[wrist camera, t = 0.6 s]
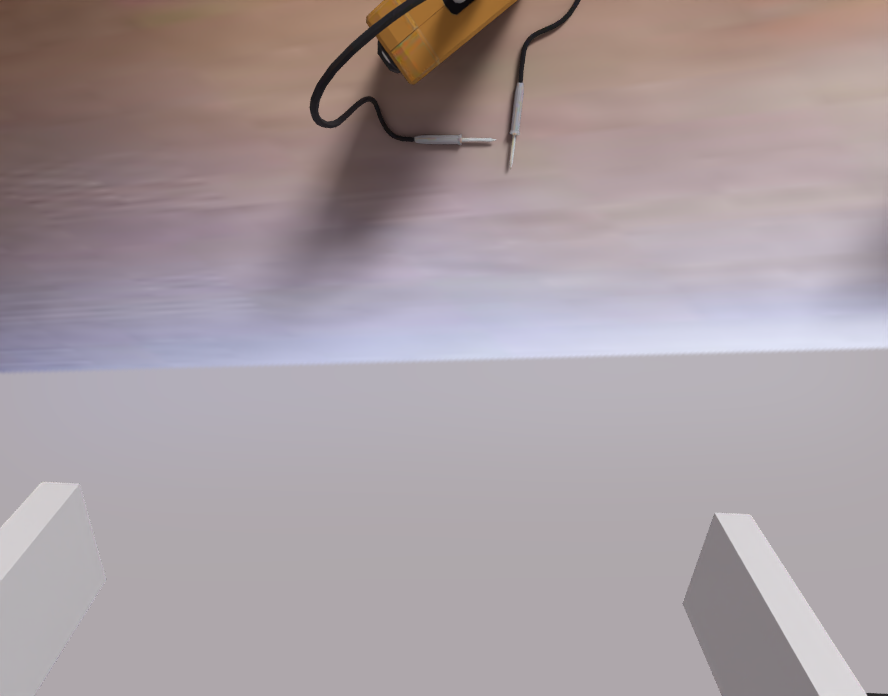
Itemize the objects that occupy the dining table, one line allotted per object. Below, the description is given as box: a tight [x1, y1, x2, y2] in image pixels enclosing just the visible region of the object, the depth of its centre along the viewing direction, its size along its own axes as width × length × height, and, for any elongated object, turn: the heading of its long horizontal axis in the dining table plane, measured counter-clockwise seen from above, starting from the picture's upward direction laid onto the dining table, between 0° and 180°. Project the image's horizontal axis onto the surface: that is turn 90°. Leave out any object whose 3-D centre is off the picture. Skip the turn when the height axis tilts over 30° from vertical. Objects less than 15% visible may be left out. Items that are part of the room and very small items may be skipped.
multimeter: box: [310, 0, 581, 169], centre depth 24 cm, size 15×10×20 cm
